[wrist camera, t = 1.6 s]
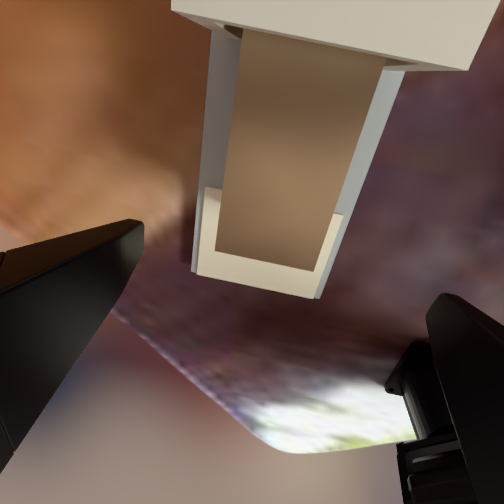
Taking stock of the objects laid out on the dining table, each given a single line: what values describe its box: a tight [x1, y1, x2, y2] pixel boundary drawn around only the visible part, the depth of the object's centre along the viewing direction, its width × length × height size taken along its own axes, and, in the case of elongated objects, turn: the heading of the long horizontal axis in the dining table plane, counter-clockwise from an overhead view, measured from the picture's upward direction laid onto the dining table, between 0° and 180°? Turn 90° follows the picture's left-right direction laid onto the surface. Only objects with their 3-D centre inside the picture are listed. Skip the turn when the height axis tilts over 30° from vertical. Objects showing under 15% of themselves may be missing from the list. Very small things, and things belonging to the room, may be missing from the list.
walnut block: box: [215, 28, 387, 272], centre depth 14 cm, size 14×5×6 cm, turn 170°
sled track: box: [171, 0, 500, 299], centre depth 13 cm, size 27×10×9 cm, turn 170°
